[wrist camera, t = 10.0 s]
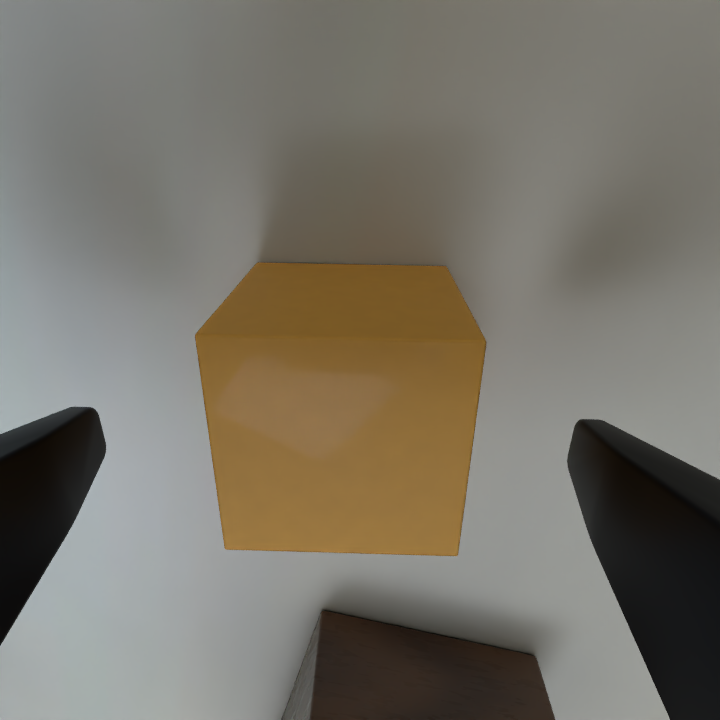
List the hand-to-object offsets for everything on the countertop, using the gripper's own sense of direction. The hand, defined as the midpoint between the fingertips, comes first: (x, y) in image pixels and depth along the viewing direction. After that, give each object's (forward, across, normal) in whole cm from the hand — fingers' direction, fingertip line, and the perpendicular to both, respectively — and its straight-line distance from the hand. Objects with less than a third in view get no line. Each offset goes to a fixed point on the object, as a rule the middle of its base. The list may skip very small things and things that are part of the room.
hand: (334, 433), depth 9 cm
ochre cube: (+4, 0, 0) cm, 4 cm away
